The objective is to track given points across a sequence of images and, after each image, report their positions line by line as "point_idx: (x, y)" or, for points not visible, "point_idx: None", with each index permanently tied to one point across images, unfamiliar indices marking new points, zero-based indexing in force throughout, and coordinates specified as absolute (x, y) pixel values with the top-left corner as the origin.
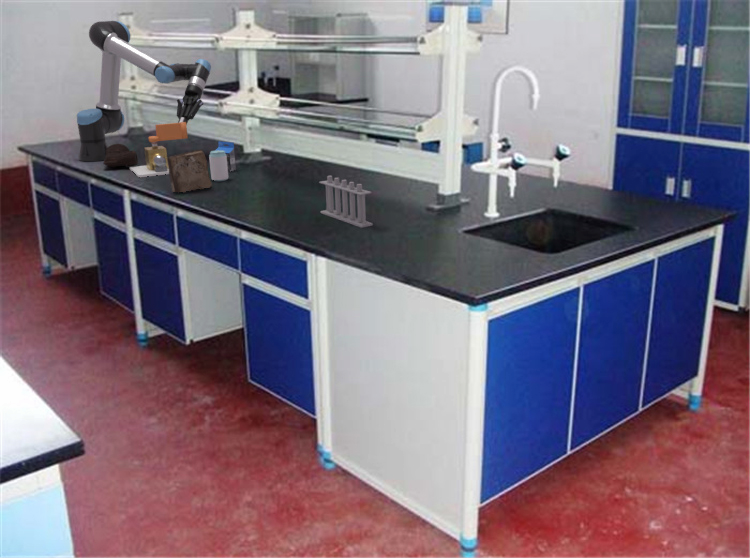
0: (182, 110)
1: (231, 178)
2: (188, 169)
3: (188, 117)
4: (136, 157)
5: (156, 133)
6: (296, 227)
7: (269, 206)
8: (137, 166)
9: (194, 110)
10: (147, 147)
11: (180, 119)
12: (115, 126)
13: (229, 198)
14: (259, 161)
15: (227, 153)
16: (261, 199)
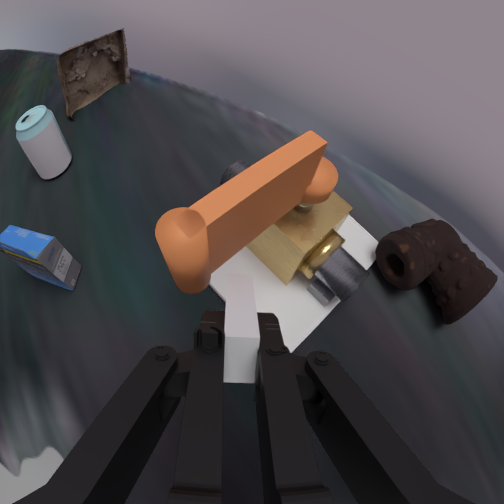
0: (291, 409)
1: (35, 183)
2: (92, 61)
3: (182, 354)
4: (401, 277)
5: (312, 174)
6: (11, 62)
7: (13, 85)
8: (369, 260)
9: (109, 410)
10: (342, 212)
11: (257, 321)
12: None
13: (46, 88)
14: (7, 415)
15: (15, 227)
16: (13, 98)
